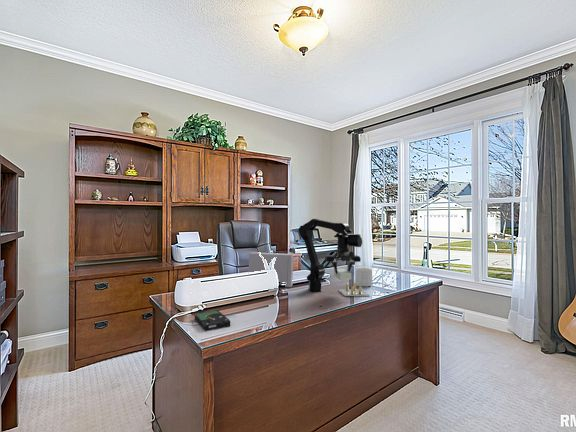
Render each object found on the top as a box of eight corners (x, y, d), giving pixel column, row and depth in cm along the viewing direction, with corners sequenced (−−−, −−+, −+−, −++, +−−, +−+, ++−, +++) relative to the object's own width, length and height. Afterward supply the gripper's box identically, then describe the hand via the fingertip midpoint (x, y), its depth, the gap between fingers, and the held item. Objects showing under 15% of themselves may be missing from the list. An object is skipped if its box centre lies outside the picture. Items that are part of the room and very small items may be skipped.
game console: (290, 287, 181) (291, 255, 181) (248, 284, 186) (248, 253, 186) (292, 285, 186) (293, 253, 186) (251, 282, 192) (251, 252, 192)
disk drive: (231, 327, 116) (217, 316, 129) (231, 320, 116) (218, 309, 129) (204, 333, 111) (193, 320, 123) (205, 325, 111) (194, 313, 123)
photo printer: (371, 285, 190) (371, 266, 190) (372, 287, 186) (373, 267, 186) (355, 284, 191) (355, 265, 191) (356, 286, 187) (356, 266, 187)
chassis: (344, 296, 162) (345, 287, 162) (338, 291, 174) (338, 282, 174) (369, 296, 164) (369, 287, 164) (361, 290, 176) (361, 282, 176)
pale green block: (340, 279, 157) (340, 273, 157) (333, 275, 169) (333, 269, 169) (351, 279, 158) (351, 273, 158) (343, 275, 170) (343, 269, 170)
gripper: (329, 247, 155) (328, 277, 155) (364, 247, 156) (363, 277, 156) (324, 245, 166) (324, 273, 166) (357, 245, 167) (357, 273, 167)
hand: (342, 274), depth 163 cm, fingers closed on pale green block, 6 cm apart
